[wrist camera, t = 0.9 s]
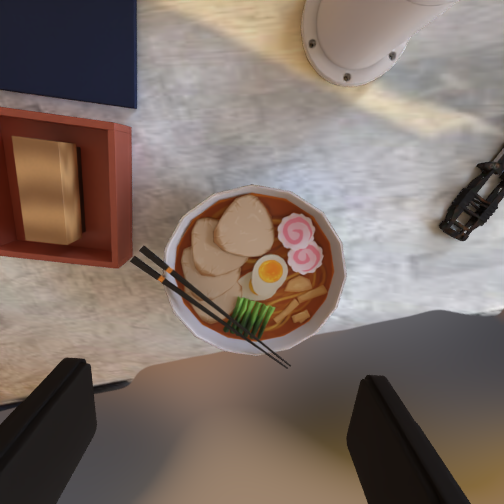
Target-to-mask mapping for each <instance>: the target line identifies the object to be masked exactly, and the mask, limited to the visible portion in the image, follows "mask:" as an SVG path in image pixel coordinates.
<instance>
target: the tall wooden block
mask: <svg viewBox="0 0 504 504" xmlns="http://www.w3.org/2000/svg"><path fill="white" fill-rule="evenodd" d="M12 143H13V151H14V158H15V166H16V173H17V180H18V188H19V195H20V203H21V210H22V217H23V225H24V232H25V240H27V241H36V242H45V243H54V244H63V245H68V244H70V243H72V242H74V241H77V240H79V239H81V238H82V233H84V232H86V227H85V212H84V196H83V180H82V164H81V148H80V147H76V143H68V142H61V141H53V140H46V139H38V138H29V137H19V136H12Z"/></svg>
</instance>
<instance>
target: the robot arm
mask: <svg viewBox="0 0 504 504" xmlns="http://www.w3.org/2000/svg"><path fill="white" fill-rule="evenodd" d="M458 1H460V0H306V2H305V6H304V9H303V14H302V21H301V36H302V42H303V47H304V50H305V53H306V56H307V58H308V60H309V62H310V63H311V65H312V67H313V68H314V69H315V70H316V71H317V73H318V74H319V75H320V76H322V77H323V78H324V79H326V80H327V81H329V82H331V83H333V84H335V85H339V86H344V87H356V86H360V85H365V84H367V83H369V82H371V81H374V80H375V79H377V78H379V77H380V76H382V75H383V74H384V73H386V72H387V71H388V70H389V69H390V68H391V67H392V66H393V65H394V64H395V63H396V62H397V61H398V59H399V58H400V56H401V54H402V53H403V51H404V50H405V48H406V45H407V43H408V41H409V38H410V37H411V36H413V35H414V34H415V33H417V32H418V31H419V30H421V29H422V28H423V27H425V26H426V25H427V24H429V23H430V22H431V21H433V20H434V19H435V18H437V17H438V16H440V15H441V14H442V13H444V12H445V11H446V10H448V9H449V8H450V7H452V6H453V5H454V4H456V3H457V2H458ZM309 44H312V46H313V47H312V48H310V47H309ZM389 57H390V58H391V60H390V59H389ZM344 77H346V78H347V80H346V81H345V80H344ZM96 426H97V421H96V412H95V402H94V393H93V383H92V373H91V366H90V364H87V363H86V360H85V359H80V358H64V359H63V360H62V361H61V362H60V363H59V364H58V365H57V366H56V367H55V368H54V369H53V371H52V372H51V373H50V374H49V375H48V376H47V377H46V378H45V379H44V380H43V381H42V382H41V383H40V385H39V386H38V387H37V388H36V389H35V390H34V391H33V392H32V393H31V394H30V395H29V396H28V397H27V398H26V400H25V401H24V402H22V403H21V404H20V405H19V406H18V407H16V409H15V410H14V411H13V412H12V413H11V414H10V415H9V416H8V417H7V418H6V419H5V420H4V421H3V422H2V423H1V425H0V504H56V503H57V501H58V499H59V498H60V495H61V494H62V492H63V490H64V488H65V487H66V485H67V483H68V481H69V480H70V478H71V476H72V474H73V472H74V471H75V469H76V467H77V465H78V463H79V461H80V460H81V458H82V456H83V454H84V453H85V451H86V449H87V447H88V445H89V444H90V442H91V440H92V438H93V436H94V434H95V431H96ZM347 446H348V449H349V452H350V455H351V457H352V460H353V463H354V466H355V468H356V472H357V474H358V477H359V480H360V483H361V485H362V488H363V491H364V494H365V496H366V499H367V502H368V504H471V503H470V502H469V500H468V499H467V497H466V496H465V494H464V493H463V491H462V490H461V488H460V487H459V485H458V484H457V482H456V481H455V479H454V478H453V476H452V474H451V473H450V471H449V470H448V468H447V467H446V465H445V464H444V462H443V461H442V459H441V458H440V457H439V455H438V454H437V452H436V450H435V449H434V447H433V446H432V444H431V443H430V441H429V440H428V438H427V437H426V435H425V434H424V432H423V431H422V429H421V428H420V426H419V425H418V424H417V423H416V422H415V421H414V419H413V418H412V416H411V415H410V413H409V412H408V410H407V408H406V407H405V405H404V404H403V402H402V401H401V399H400V398H399V396H398V395H397V393H396V392H395V390H394V389H393V387H392V386H391V384H390V383H389V382H388V380H387V378H386V377H385V376H377V375H367V376H366V377H365V379H362V380H361V382H360V385H359V389H358V393H357V397H356V401H355V405H354V409H353V413H352V417H351V421H350V425H349V428H348V433H347Z"/></svg>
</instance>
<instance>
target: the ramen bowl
mask: <svg viewBox="0 0 504 504" xmlns="http://www.w3.org/2000/svg"><path fill="white" fill-rule="evenodd" d="M139 251H140V252H141V253H143V254H144V255H145V256H146V257H148V258H149V259H150V260H152V261H153V262H154V263H156V264H157V265H158V266H160V267H161V268H162V269H163V276H161V275H160V274H159V273H158V272H156V271H155V270H153V269H152V268H151V267H149V266H148V265H147V264H145V263H144V262H143V261H141V260H140V259H138V258H137V257H136V256H134V257H133V258H132V260H131V261H130V262H132V263H133V264H135V265H136V266H137V267H139V268H140V269H142V270H143V271H145V272H146V273H148V274H149V275H151V276H152V277H154V278H155V279H156V280H158V281H160V282H161V283H162V284H163V286H164V289H165V291H166V294H167V297H168V299H169V302H170V305H171V307H172V310H173V313H174V314H175V315H176V316H177V317H178V318H179V319H180V321H181V322H182V323H183V324H184V325H185V326H186V327H187V328H188V329H189V331H190V332H191V333H192V334H193V335H194V336H195V337H197V338H199V339H201V340H203V341H205V342H207V343H209V344H211V345H213V346H215V347H217V348H219V349H221V350H223V351H226V352H233V353H240V354H248V355H254V356H258V355H263V354H266V355H268V356H269V357H271V358H272V359H274V360H275V361H277V362H278V363H279V364H281V365H282V366H284V367H285V368H287V367H286V366H285V365H283V364H282V363H281V362H279V361H278V360H277V359H275V358H274V357H272V356H271V355H270V354H268V353H273V354H274V355H276V356H277V357H278V358H280V359H281V360H282V361H284V362H285V363H286V364H288V363H287V362H286V361H285V360H284V359H282V358H281V357H280V356H279V355H277V354H276V353H275V352H277V351H282V350H288V349H290V348H292V347H293V346H295V345H297V344H299V343H300V342H302V341H304V340H305V339H307V338H309V337H311V336H313V335H314V334H316V333H317V332H318V331H319V330H320V328H321V327H322V326H323V325H324V323H325V322H326V321H327V320H328V318H329V317H330V316H331V315H332V313H333V312H334V311H335V310H336V309H337V307H338V303H339V300H340V297H341V294H342V290H343V287H344V284H345V281H346V278H347V273H346V266H345V259H344V252H343V244H342V241H341V240H340V238H339V237H338V235H337V233H336V232H335V230H334V229H333V227H332V225H331V224H330V222H329V220H328V219H327V217H326V216H325V214H324V212H322V211H321V210H319V209H318V208H316V207H315V206H313V205H311V204H310V203H308V202H307V201H305V200H304V199H302V198H301V197H299V196H298V195H296V194H294V193H293V192H291V191H286V190H281V189H275V188H270V187H264V186H259V185H253V184H251V185H247V186H243V187H239V188H235V189H231V190H227V191H222V192H218V193H214V194H212V195H211V196H209V197H208V198H207V199H205V200H204V201H203V202H201V203H200V204H198V205H197V206H196V207H194V208H193V209H192V210H190V211H189V212H188V213H186V214H185V215H183V216H182V218H181V219H180V221H179V223H178V225H177V227H176V229H175V230H174V232H173V234H172V236H171V238H170V240H169V241H168V243H167V245H166V247H165V252H164V261H162V260H161V259H160V258H159V257H157V256H156V255H155V254H154V253H153V252H151V251H150V250H149V249H148V248H146V247H145V246H143V247H142V248H141V249H140V250H139ZM288 365H289V366H291V365H290V364H288Z"/></svg>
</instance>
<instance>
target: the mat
mask: <svg viewBox="0 0 504 504" xmlns="http://www.w3.org/2000/svg"><path fill="white" fill-rule="evenodd" d="M0 90H6V91H13V92H20V93H27V94H35V95H42V96H49V97H56V98H63V99H70V100H77V101H84V102H91V103H98V104H105V105H113V106H120V107H127V108H134V109H137V0H0Z"/></svg>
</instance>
